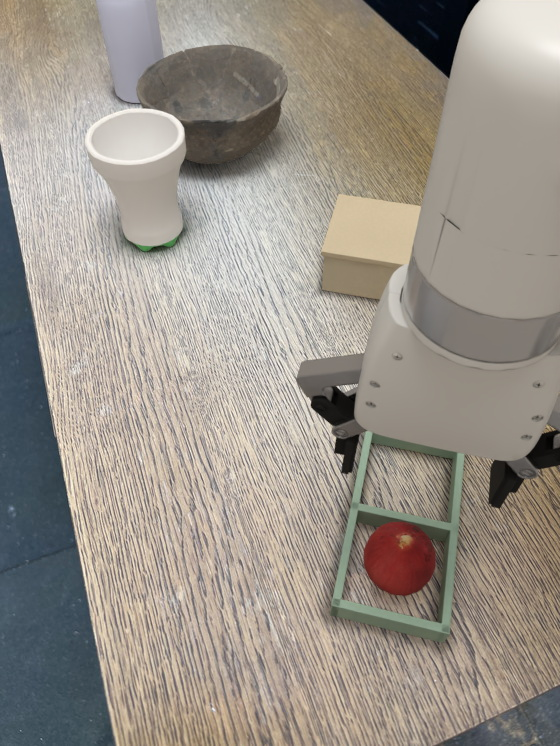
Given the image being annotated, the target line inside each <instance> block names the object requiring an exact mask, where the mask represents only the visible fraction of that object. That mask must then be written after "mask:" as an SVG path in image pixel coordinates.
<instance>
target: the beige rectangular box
mask: <svg viewBox="0 0 560 746" xmlns="http://www.w3.org/2000/svg"><path fill="white" fill-rule="evenodd" d="M420 210H421V205H416V204H410V203H405V202H404V203H403V202H397V201H389V200H382V199H376V198H369V197H363V196H356V195H349V194H342V193H338V195H337V198H336V200H335V205H334V209H333V211H332V214H331V218H330V221H329V224H328V228H327V231H326V234H325V237H324V241H323V243H322V247H321V250H320V256H323V263H322V264H323V265H322V278H321V279H322V280H321V281H322V283H321V291H326V292H330V293H338V294H344V295H349V296H355V297H360V298H367V299H372V300H377V301H378V300H379V301H380V299H381V296H382V294H383V292H384V289H385V287H386V285H387V283H388V282H389V280H390V278H391V276H392V275H393V273H394V272H395V271H396V270H397V269H398V268H400V267H401V266H403V265H405V264H408V263H409V260H410V256H411V251H412V246H413V241H414V237H415V232H416V228H417V224H418V219H419V214H420Z"/></svg>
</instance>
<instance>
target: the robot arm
mask: <svg viewBox="0 0 560 746" xmlns="http://www.w3.org/2000/svg"><path fill="white" fill-rule="evenodd" d="M457 41H458V42H457V46H456V49H455V52H454V56H453V59H452V60H453V61H452V65H451V69H450V74H449V79H448V83H447V88H446V91H445V96H444V101H443V105H442V110H441V114H440V119H439V123H438V129H437V133H436V137H435V142H434V147H433V151H432V156H431V161H430V164H429V169H428V174H427V179H426V183H425V187H424V192H423V198H422V202H421V205H420V206H421V210H420V214H419V219H418V224H417V228H416V232H415V237H414V241H413V246H412V251H411V256H410V260H409V263H408V264H405V265H403V266H401V267H400V268H398V269H397V270H396V271H395V272H394V273H393V275H392V276H391V278H390V280H389V282H388V283H387V285H386V287H385V289H384V292H383V294H382V296H381V299H380V300H379V301H378V304H377V306H376V309H375V311H374V316H373V319H372V322H371V325H370V330H369V332H368V337H367V341H366V345H365V349H364V352H362V353H355V354H353V353H352V354H346V355H339V356H330V357H322V358H315V359H307V360H303V361H301V362H300V364H299V368H298V371H297V375H296V378H295V382H296V384H297V385H298V386H299V388H300V390H301V391H302V393H303V394H304V395H305V397H306V398H308V399H309V400H310V401H311V402H310V408H311V409H312V410H313V411H314V412H315V413H316V414H318V416H320V417H321V418H322V419H323V420H325V421H326V422H327V423H328V424H329V425H330V426H332V427H331V435H332V436H333V437H334V438H335V443H334V449H333V454H337V455H341V456H343V458H342V464H341V469H340V470H341V471H340V474H345V475H349V474H352V473H353V470H354V465H355V460H356V455H357V450H358V446H359V442H360V436H361V434H363V433H365V432H366V431H370V432H372V433H375V434H378V435H381V436H385V437H389V438H394V439H398V440H402V441H407V442H411V443H416V444H420V445H425V446H429V447H434V448H438V449H443V450H448V451H453V452H457V453H462V454H465V455H467V456H471V457H477V458H483V459H487V460H493V461H492V462H491V465H490V469H489V483H488V484H489V485H488V500H487V501H488V502H487V503H488V505H490V507H491V508H495V509H501V508H502V506H503V504H504V503H505V502H506V499H507V498H508V496H509V495H510V493H511V494H517V492H518V491H519V489H520V488H521V486H522V484H523V483H524V481H525V480H534V479H537V478H538V476H539V471H540V470H543V469H548V468H554V467H559V466H560V0H478V2H477V3H475V5H474V6H473V8H472V10H471V11H470V13H469V14H468V15H467V18H466V20H465V22H464V24H463V26H462V28H461V30H460V34H459V38H458V40H457ZM350 385H352V386H353V385H357V386H355V387H354V388H351V389H349V390H347V391H342V390H341V389H340V388H339V387H342V386H350ZM547 425H548V426H549V427H551V428H553V429H554V430H549V431H547V432H545V428H546V426H547Z"/></svg>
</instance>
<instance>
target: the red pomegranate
mask: <svg viewBox="0 0 560 746" xmlns="http://www.w3.org/2000/svg"><path fill="white" fill-rule="evenodd" d="M362 551H363V553H362V554H363V568H364V570H365V572H366V575H367V577H368V579H369V580H370V581H371V582H372V583H373V584H374V585H375V586H376V587H377V588H378V589H379V590H381V591H383V592H384V593H387V594H389V595H391V596H399V597H407V596H410V595H413V594H416V593H418V592H420V591H422V590H423V588H424V587H426V585H428V583H429V582H431V580H432V577H433V575H434V573H435V571H436V566H437V553H436V549H435V547H434V545H433V543H432V541H431V539H430V538H429V536H428V535H427V534H426V533H424V532H423V531H422V530H421V529H420V528H419V527H418V526H416V525H413V524H410V523H407V522H389V523H387V524H384V525H381V526H380V527H376V529H375V530H374V531H373V532H372V533H371V534H370V535H369V537H368V539H367V542H366V543H365V546H364V548H363V550H362Z"/></svg>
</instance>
